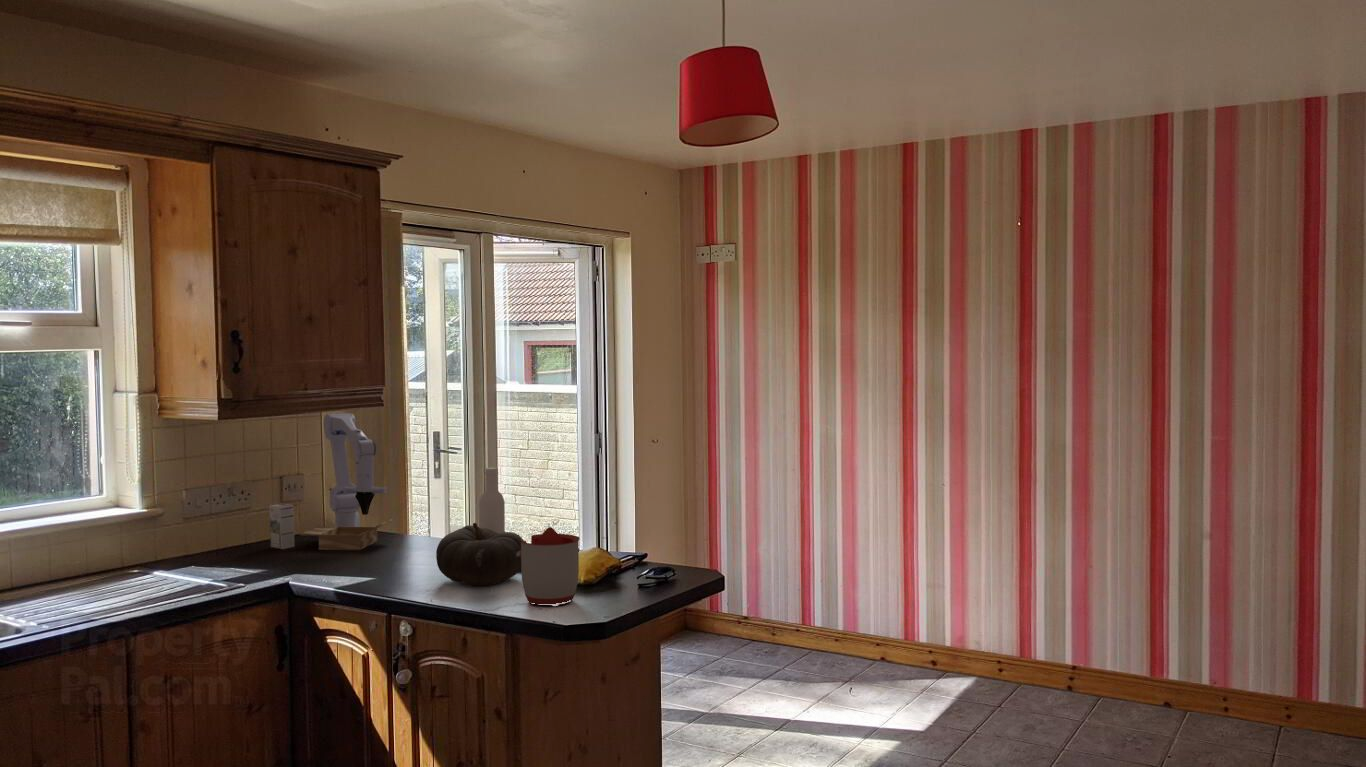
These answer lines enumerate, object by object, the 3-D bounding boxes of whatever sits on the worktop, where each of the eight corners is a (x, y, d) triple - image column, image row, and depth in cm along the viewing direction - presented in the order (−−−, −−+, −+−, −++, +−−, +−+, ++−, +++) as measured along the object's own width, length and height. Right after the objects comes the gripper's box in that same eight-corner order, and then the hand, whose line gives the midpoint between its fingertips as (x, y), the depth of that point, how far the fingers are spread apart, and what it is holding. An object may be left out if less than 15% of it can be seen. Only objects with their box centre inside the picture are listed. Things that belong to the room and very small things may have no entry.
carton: (318, 540, 363) (318, 526, 363) (377, 541, 362) (377, 527, 362) (298, 549, 347) (298, 534, 347) (359, 550, 346) (359, 535, 346)
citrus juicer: (533, 592, 286) (532, 520, 285) (590, 598, 279) (589, 524, 279) (503, 605, 271) (502, 529, 270) (562, 612, 265) (562, 533, 264)
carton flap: (393, 518, 360) (394, 519, 360) (376, 527, 361) (377, 528, 361) (378, 525, 346) (378, 526, 346) (360, 534, 346) (361, 536, 346)
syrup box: (295, 546, 352) (294, 504, 351) (280, 549, 347) (279, 506, 346) (284, 545, 355) (283, 502, 354) (269, 547, 350) (268, 505, 349)
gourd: (456, 560, 316) (462, 505, 313) (533, 576, 312) (540, 521, 309) (420, 587, 292) (426, 528, 289) (503, 605, 288) (511, 546, 285)
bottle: (475, 566, 320) (474, 469, 319) (485, 561, 328) (485, 466, 327) (499, 567, 318) (498, 470, 317) (509, 562, 326) (508, 467, 325)
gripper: (339, 476, 353) (339, 515, 353) (381, 476, 352) (381, 516, 352) (347, 473, 360) (348, 512, 360) (388, 474, 359) (388, 513, 359)
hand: (365, 514), depth 357 cm, fingers closed
